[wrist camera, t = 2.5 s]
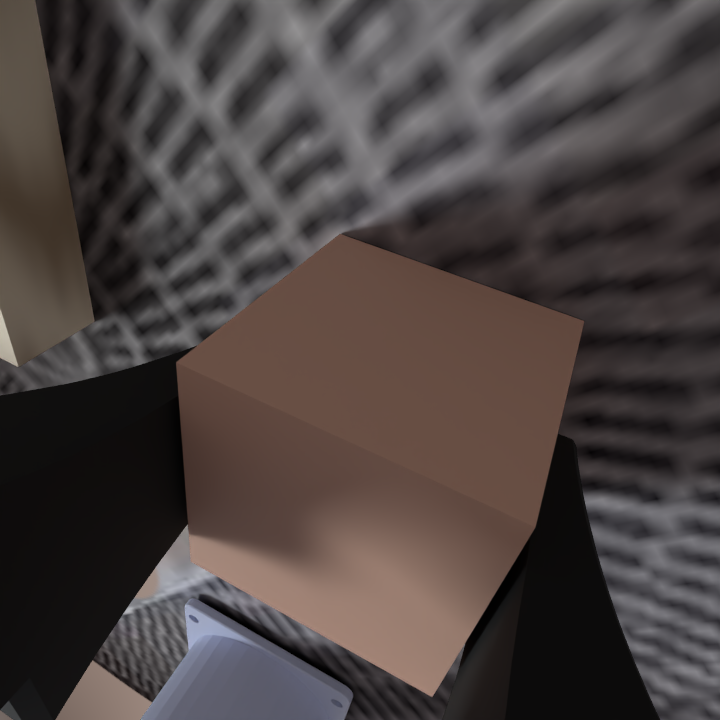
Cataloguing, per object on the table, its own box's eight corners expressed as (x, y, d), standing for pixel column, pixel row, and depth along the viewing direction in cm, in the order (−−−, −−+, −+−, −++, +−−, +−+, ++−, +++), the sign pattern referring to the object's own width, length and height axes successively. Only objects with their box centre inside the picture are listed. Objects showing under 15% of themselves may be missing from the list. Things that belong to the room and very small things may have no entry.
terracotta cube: (498, 491, 13) (432, 697, 9) (315, 409, 14) (190, 561, 11) (584, 320, 10) (535, 527, 6) (339, 234, 11) (176, 362, 7)
